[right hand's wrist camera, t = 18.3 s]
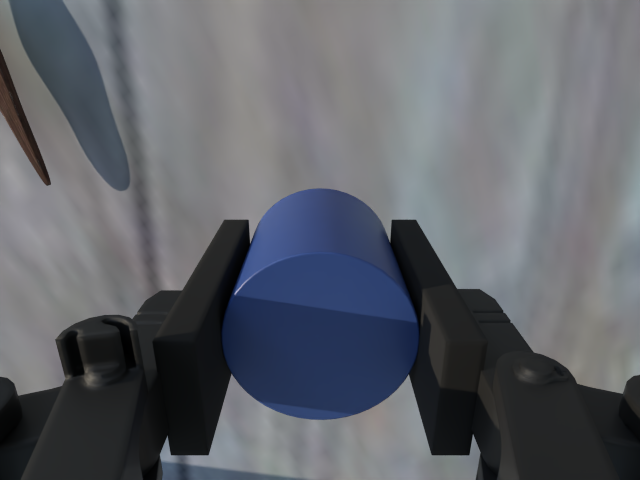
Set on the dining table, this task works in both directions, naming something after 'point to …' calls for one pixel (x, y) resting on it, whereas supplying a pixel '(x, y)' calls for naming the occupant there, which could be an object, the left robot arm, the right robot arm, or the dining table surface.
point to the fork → (19, 121)
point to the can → (320, 310)
